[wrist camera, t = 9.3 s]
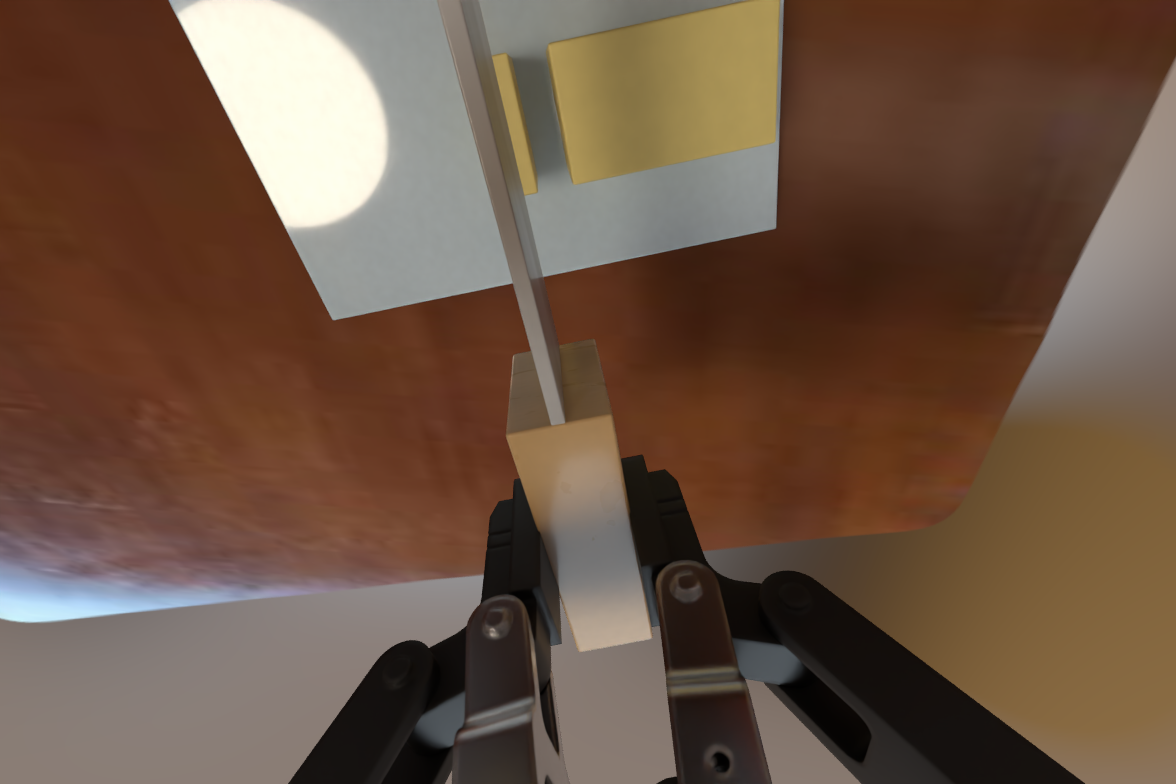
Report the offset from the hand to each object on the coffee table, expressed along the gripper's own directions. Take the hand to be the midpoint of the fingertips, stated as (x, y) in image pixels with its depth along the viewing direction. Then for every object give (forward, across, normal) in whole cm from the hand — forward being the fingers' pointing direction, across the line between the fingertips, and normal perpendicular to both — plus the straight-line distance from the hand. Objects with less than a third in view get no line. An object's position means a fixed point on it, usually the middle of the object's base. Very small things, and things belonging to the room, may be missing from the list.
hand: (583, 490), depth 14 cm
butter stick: (+11, -5, -9) cm, 15 cm away
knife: (+1, 0, -4) cm, 5 cm away
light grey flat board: (+12, 0, -9) cm, 15 cm away
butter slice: (+11, 0, -9) cm, 14 cm away
